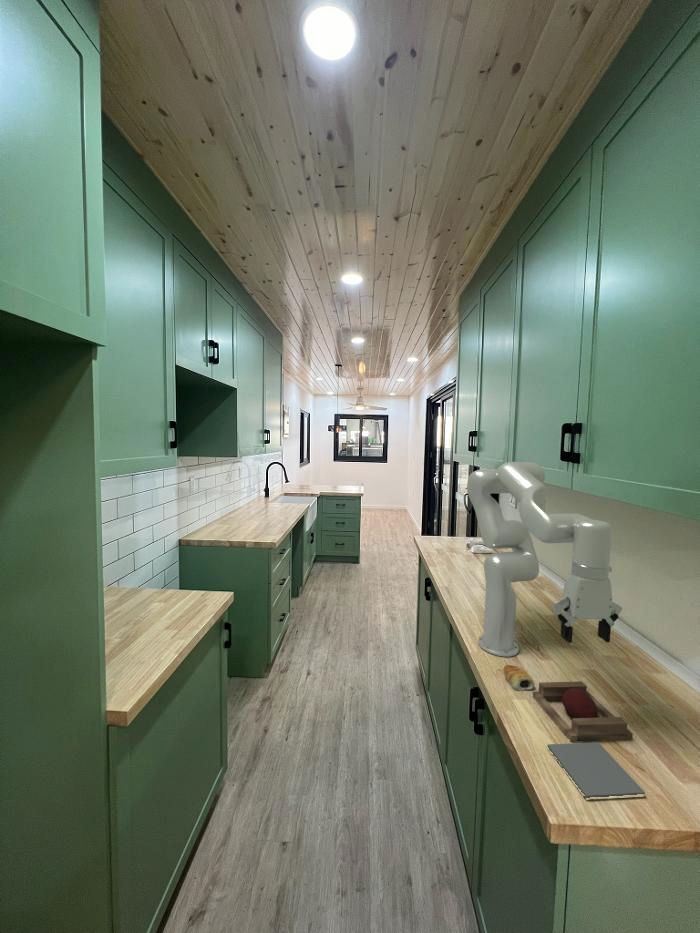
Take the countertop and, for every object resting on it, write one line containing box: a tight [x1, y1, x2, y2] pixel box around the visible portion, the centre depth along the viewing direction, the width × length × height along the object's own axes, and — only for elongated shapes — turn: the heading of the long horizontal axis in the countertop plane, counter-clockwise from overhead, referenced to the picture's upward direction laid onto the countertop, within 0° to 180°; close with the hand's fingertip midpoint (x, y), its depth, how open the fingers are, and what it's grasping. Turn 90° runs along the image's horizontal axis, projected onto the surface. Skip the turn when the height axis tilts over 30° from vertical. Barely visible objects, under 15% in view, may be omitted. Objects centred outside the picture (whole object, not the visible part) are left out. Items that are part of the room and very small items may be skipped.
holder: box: [532, 681, 634, 743], centre depth 93 cm, size 15×15×4 cm
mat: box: [547, 741, 646, 798], centre depth 77 cm, size 12×12×1 cm
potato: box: [561, 688, 599, 718], centre depth 92 cm, size 8×9×6 cm
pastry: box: [503, 664, 535, 692], centre depth 106 cm, size 9×7×4 cm
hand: (584, 639), depth 91 cm, fingers open, 9 cm apart
